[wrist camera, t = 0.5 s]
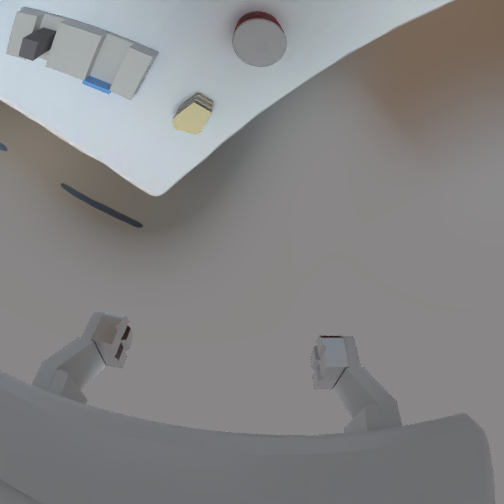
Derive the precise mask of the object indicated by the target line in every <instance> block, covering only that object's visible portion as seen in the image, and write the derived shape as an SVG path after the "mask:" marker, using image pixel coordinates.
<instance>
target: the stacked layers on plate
mask: <svg viewBox="0 0 504 504" xmlns="http://www.w3.org/2000/svg"><path fill="white" fill-rule="evenodd" d="M213 105H214V104H212V101H210V100H209V99H207V98H205V97H204V96H202V95H200V94H198V95H196V96H194V97H193V98H192V99H190V100H189V101H188V102H186V103H185V104H184V105H182V106H181V107H180V108H179V109H178V110H177V112H176V115H175V116H174V118H173V120H172V123H173V125H174V127H175V129H177V130H180V131H184V132H188V133H191V134H198V133H200V132H201V131H202V129H203V127H204V126H205V124H206V122H207V120H208V118H209V116H210V115H211V111H212V107H213Z"/></svg>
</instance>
